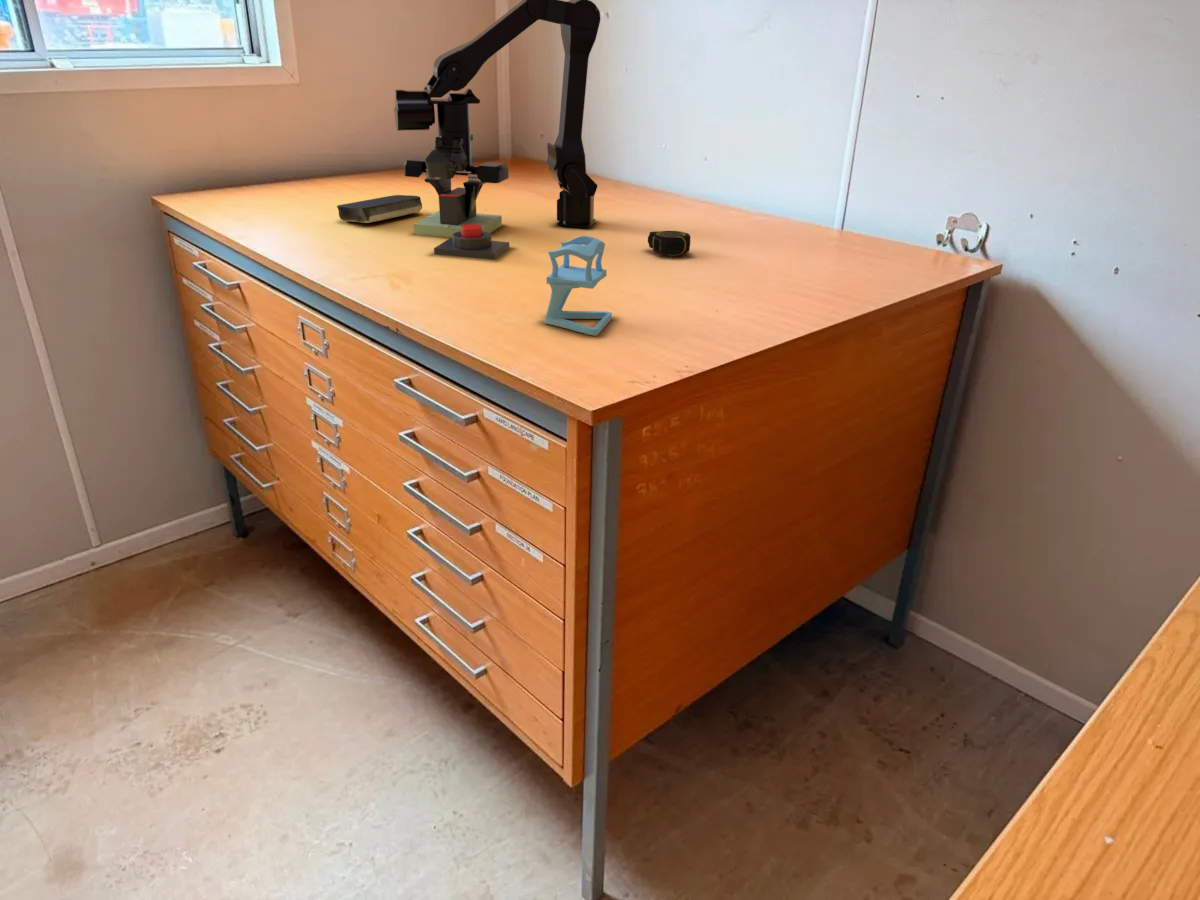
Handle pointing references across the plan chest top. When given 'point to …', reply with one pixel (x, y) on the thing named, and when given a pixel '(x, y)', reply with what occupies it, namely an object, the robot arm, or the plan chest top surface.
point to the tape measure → (669, 242)
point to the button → (471, 231)
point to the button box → (472, 247)
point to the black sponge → (380, 208)
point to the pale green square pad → (434, 227)
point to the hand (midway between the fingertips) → (458, 216)
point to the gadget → (454, 207)
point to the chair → (575, 284)
